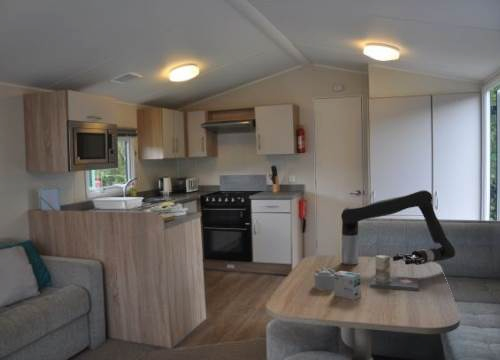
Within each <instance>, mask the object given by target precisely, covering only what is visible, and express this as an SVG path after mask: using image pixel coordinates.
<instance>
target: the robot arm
mask: <svg viewBox="0 0 500 360" xmlns="http://www.w3.org/2000/svg"><path fill="white" fill-rule="evenodd" d="M417 207H418V208H419V210H420V212H421V214H422V216H423V218H424V220H425V223H426V226H427V229H428V232H429V234H430V237H431V239H432V241H433V243H434V244H439V245H441V247H436V248H435V247H434V248H432V247H431V248H423V249H417V250H416V249H415V250H413V251H412V252H411V253H408V254H407V253H405V252H403V253H396V255H394V256H393V257H392V261H393V262H397V261H403V262H404V264H405V265H416V266H419V265H424V264H431V263H433V262H440V261H446V260H449V259H452V258H454V257H456V250H455V248H454V246H453V244H452V243H451V241H450V239H448V238H447V236H446V234H445V231H444V229H443V227H442V224H441V222H440V220H439V219H438V216H437V215H436V213H435V209H434V206H433V195H432V193H431V192H430V191H428V190H426V189H423V190H422V189H421V190H418V191H415V192H411V193H409V194H406V195H403V196H394V197H390V198H385V199H380V200H376V201H375V202H371V203H369V204H367V205H365V206H360V207H350V206H348V207H345V208H344V209H343V210H342V212H341V220H342V221H341V222H342V225H341V238H342V239H341V241H342V245H341V263H342V264H345V265H357V264H359V222H360V221H363V220H367V219H373V218H374V219H375V218H380V217H385V216H389V215H394V214H396V213H399V212H402V211H404V210H406V209H410V208H417Z"/></svg>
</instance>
